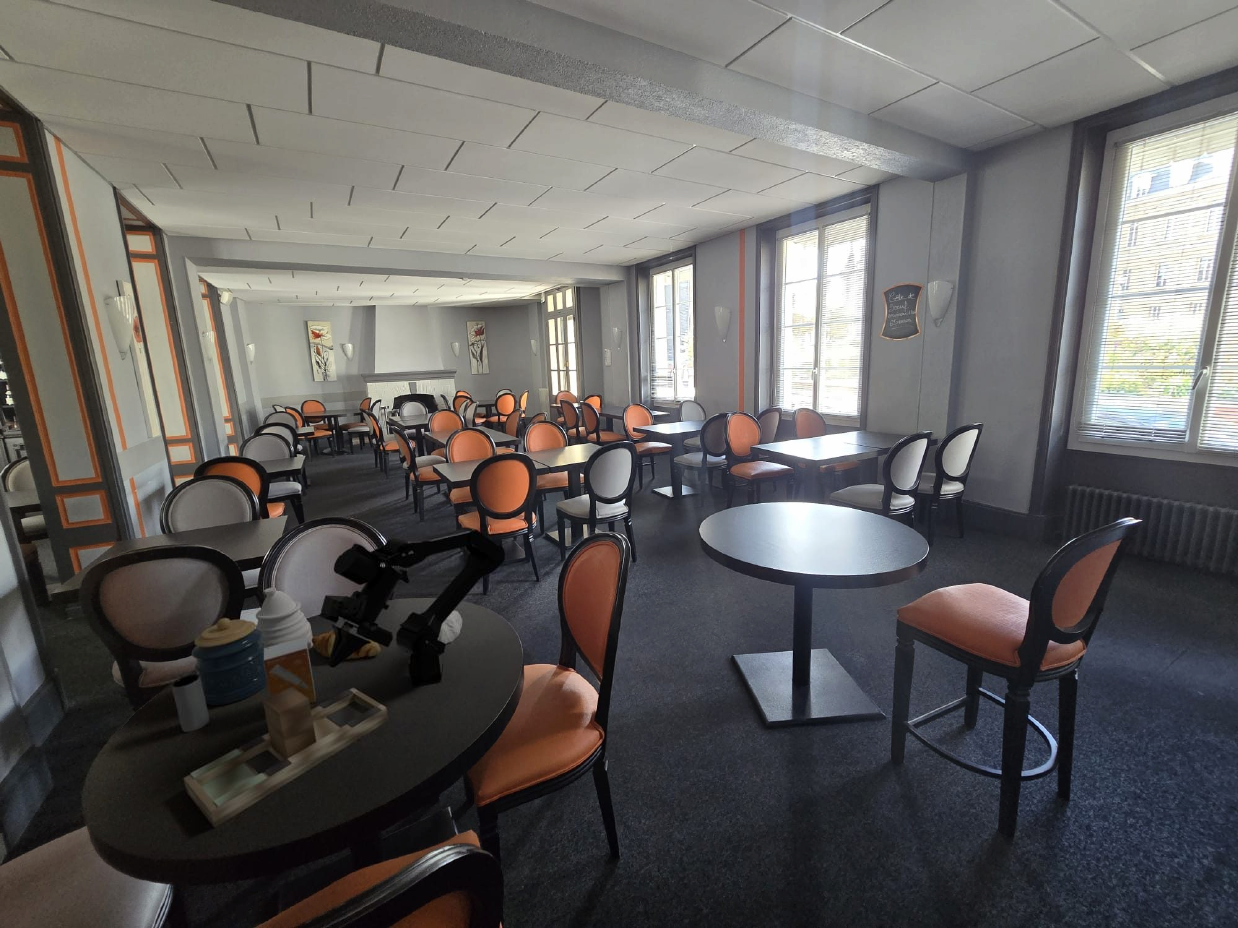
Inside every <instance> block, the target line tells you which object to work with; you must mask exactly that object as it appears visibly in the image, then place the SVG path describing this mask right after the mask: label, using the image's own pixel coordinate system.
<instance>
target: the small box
mask: <svg viewBox="0 0 1238 928" xmlns="http://www.w3.org/2000/svg"><path fill="white" fill-rule="evenodd" d="M311 665H312V664H311V660H310V654H309V650H308V647H307V641H306V637H303V638H300V639H296V640H292V641H288V642H284V643H281V644H278V645H274V646H271V647H267V648H264V666H265V671H266V677H267V682H268V683H267V687H268V693H269V697H272V696H274V695H276V694H278V693H280V692H282V691H284V690H286V689H288V688H290V687H293V688H294V689H296V690H297V691H298V692H300V693H301V694H303V695H304V696H306V697H307V698H309V703H310V704H311V703H314V702H316V701H317V699H316V698H317V697H316V690H315V684H314V683H315V682H314V677H313V672H312V667H311Z"/></svg>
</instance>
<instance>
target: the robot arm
mask: <svg viewBox="0 0 1238 928" xmlns="http://www.w3.org/2000/svg"><path fill="white" fill-rule="evenodd" d="M460 548H464V550H466V551H467V552H468V555H467V558H466V562H465V566H464V567H463V568H462V569H461V570H460V572H459V573H458V574H457V576H455V577H454V579H452V581H451V582H450V583H449V584H448V585H447V586H446V587H445V589H443V591H442V592H441V593H440V594H439V595H438V596H437V598H436V599H435V600H434V601H433V602H432V603H431V604H430V605H431V606H430V605H429V606H430V607H429V606H428V608H426V610H425V611H422V612H421V613H417V612H415V611H413V612H411V613H410V614H409V615H408V617H407V618H406V619H405V620H404V621H403V622H402V623H400V624H399V629H398V630H397V632H396V634H395V636H396V638H395V642H396V645H397V646H398V648H400V649H402V650H404V652H405V653H409V655H410V656H409V660H408V663H407V664H408V666H407V668H408V674H409V680H411V681H412V682H411V686H412V687H418V686H423V685H427V684H433V683H437V682H442V680H443V673H444V664H443V663H442V658H441V657H442V656H441V655H443V654H445V649H446V645H447V644H445V643H443V642H441V641H439V640H437V639H438V638H439V635H440V630H441V626H442V624H443V622H444V621H445V620H446V619H447V618H448V616H449V615H450V614H451V613H452V612H453V611H455V610H456V609H457V607H458V606H459V605H460V604H461V603H462V602H463V600H464V599H465V598H466V596H468V594H469V593H470V592H471V590H472V589H473V588H474V587H475V586H476V584H478V582H480V580H481V579H482V578H484V577H487V576H488V575H491V574H493V573H494V572H495V571H497V569H499V567H501V566H502V565H503V563H504V562H505V560H506V557H505V556H506V552H505V549H504V547H503V546H502V545H501V544H497V543H496V542H494V541H492V539H489V538H488V537H486V536H485V535H484V534H483V533H482V532H481V531H479V530H478V529H476V528H472V527H467V526H466V527H462V528H459V529H455V530H451V531H446V532H442V533H437V534H433V535H429V536H424V537H405V536H404V537H392V538H390V539H388V540H386V542H385V543H384V545H382V546H380V547H377V548H376V549H374V550H372V551H370V550H368V549H367V548H366V547H365V546H363V545H362V544H358V543H354V544H353V545H352V546H351V547H350V548H348V549H346V550H344V551H343V552H342V553H341V554H340V555H338V557H337V558H336V560H335V562H334V565H333V572H334V573H335V574H337V575H339V576H340V577H343V578H345V579H346V580H348V581H350V582H352V583H354V584H356V585H357V586H358V585H359V586H361V585H363V587H362V588H361V590H360V591H359V590H355V591H353V593H352V594H351V595H350V596H348V595H329V594H327V595H324V599H323V602H322V606H321V608H320V609H321V610H320V614H319V617H321V618H323V619H325V620H326V621H327V620H328V621H329V622H333V623H335V624H331V625H330V626H331V628H332V631H333V630H334V633H335V640H334V644H333V648H332V652H331V656H330V658H328V659H329V660H328V664H327V666H328V667H330V668H333V669H334V668H336V667H337V666H339V665H340V664H342V662H344V661H345V660H347V659H346V658H348V657H349V656H350V655H352V654H353V653H354V652H356V651H357V650H359V649H360V648H362V647H363V646H365V645H366V644H370V643H371V642H370V641H369V640H371V641H374V642H376V643H378V644H379V645H380V646H383V647H386V648H389V646H390V645H391V644H392V641H393V640H394V635H393V632H392V631H389V630H387V629H384V628H383V627H380V626H379V623H377V619H378V618H379V616H380V614H381V613H382V611H383V610H385V611H388V610H389V608H390V605H389V604H387V602H388V601H389V599H390V597H391V596H392V594H393V593H394V591H395V590H396V588H397V586H398V584H399V583H400V582H401V583H405V584H409V583H410V579H409V576H408V570H406V569H408V568H409V569H410V568H412V567H414V566H417V565H418V564H420V563H423V562H424V561H425V560H426V559H427V558H429V557H431V556H433V555H438V554H441V553H445V552H449V551H453V550H457V549H460ZM382 564H384V565H386V566H381V565H382ZM395 567H400V568H401V569H397V568H395ZM402 568H404V569H402Z"/></svg>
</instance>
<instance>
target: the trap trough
mask: <svg viewBox="0 0 1238 928" xmlns="http://www.w3.org/2000/svg"><path fill="white" fill-rule="evenodd" d="M311 714H312V719H313V725H314V730H315V736H316V743H314V744H312V745H311V746H309V747H307V748H305V749H304V750H302V751H300V752H299V753H297V754H295V755H293V756H292V757H290V758H288V759H287V758H286V759H284V758H283V757H282V756H281V755H280V754H278V753H277V752H276V751H275V750H274V749H273V748H272V745H271V740H270V735H269V732H267V733H266V734H265V733H264V735H260V736H258V737H256V738H255V739H252V740H250V741H249V742H247V743H245V744H242V745H241V746H240V747H239V748H238V749H237V748H235V749H233V750H232V751H230V752H228V753H227V754H224V755H222V756H220V757H218V758H216V759H215V760H213V761H212V762H209V763H207V764H206V765H204V766H202V767H200V768H198V769H195V770H194V771H192V772H190V774H189V775H187V776H184V777H183V782H184V786H185V789H186V793H187V795H188V796H189V798H191V800H192V801H193V802H194V803H195V805H196V807H198V809H199V810H200V811H201V813H202V814H203V815H204V816H205V818H206V819H207V820H208V821H209V822H210V825H212V826H213V827H214V829H215V828H217V827H218V826H221V825H222V824H223V823H225V822H226V821H228V820H230V819H232V818H233V817H235V816H237V815H238V814H239V813H241V812H243V811H244V810H245V809H248V808H249V807H251V806H253V805H254V804H256V803H257V802H259V801H260V800H262V799H264V798H266V797H267V796H268V795H270V794H272V793H273V792H275V791H277V790H279V789H280V788H282V787H283V786H285V785H286V784H288V783H289V782H292V781H293V780H294V779H296V778H298V777H300V776H301V775H303V774H304V773H306V772H308V771H309V770H311V769H312V768H314V767H315V766H317V765H319V764H321V763H322V762H324V761H325V760H327V759H329V758H330V757H332V756H334V755H335V754H337V753H338V752H339V751H342V750H344V749H345V748H347V747H348V746H350V745H351V744H353V743H355V742H356V741H357V740H360V739H361V738H362V736H363V737H364V736H367V734H369V733H371V732H372V731H374V730H375V729H377V728H379V727H380V726H382V725H384V724H385V723H387V722H388V721H389V715H388V708H387V707H386V706H385V705H383V704H381V703H380V702H378V701H376V700H374V699H373V698H371V697H369V696H368V695H366V694H365V693H362V691H359V690H357V688H355V687H352V688H350V689H347V690H344V691H343V692H341V693H339V694H337V695H335V696H334V697H332V698H329V699H328V700H326V701H324V702H322V703H320V704H319V705H318V706H316V707H315V708H312V709H311Z"/></svg>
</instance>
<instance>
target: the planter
mask: <svg viewBox="0 0 1238 928" xmlns="http://www.w3.org/2000/svg"><path fill="white" fill-rule="evenodd" d="M171 689H172V693H173V697H174V701H175V705H176V709H177V713H178V718H179V722H180V727H181V730H182V731H183V732H185V733H188V732H189V733H190V732H193V731H194V732H195V731H196V730H200V729H201V728H203V727H205V726H206V725H207V724H209V722H210V716H209V710H208V707H207V703H206V701H205V697H204V692H203V688H202V683H201V679H200V676H199V675H198V674H189V675H185V676H182V677H180V678H178V679H176V680H175V681H173V682H172V684H171Z"/></svg>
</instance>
